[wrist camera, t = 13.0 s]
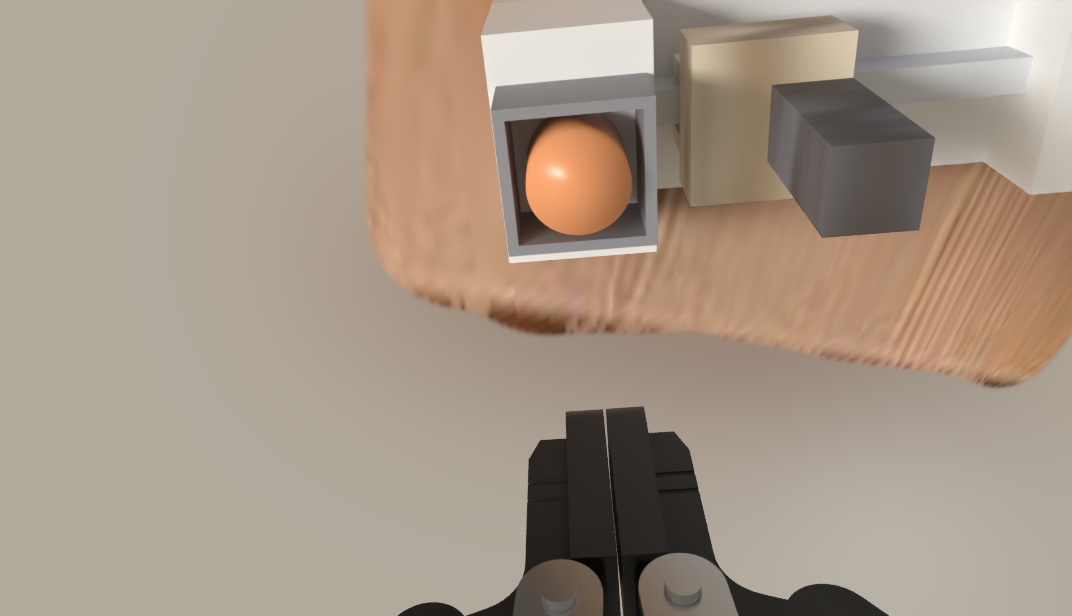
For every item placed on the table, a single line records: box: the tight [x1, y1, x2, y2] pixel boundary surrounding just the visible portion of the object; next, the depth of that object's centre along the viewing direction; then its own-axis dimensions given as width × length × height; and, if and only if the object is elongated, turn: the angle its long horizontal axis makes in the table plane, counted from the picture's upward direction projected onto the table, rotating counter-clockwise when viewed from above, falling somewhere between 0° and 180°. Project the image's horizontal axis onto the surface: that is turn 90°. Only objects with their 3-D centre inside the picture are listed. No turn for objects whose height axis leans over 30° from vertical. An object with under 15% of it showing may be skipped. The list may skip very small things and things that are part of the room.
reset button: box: [526, 113, 632, 235], centre depth 27 cm, size 4×4×3 cm
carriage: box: [673, 15, 935, 238], centre depth 29 cm, size 6×6×12 cm
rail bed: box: [481, 0, 1072, 263], centre depth 31 cm, size 24×10×11 cm, turn 95°
